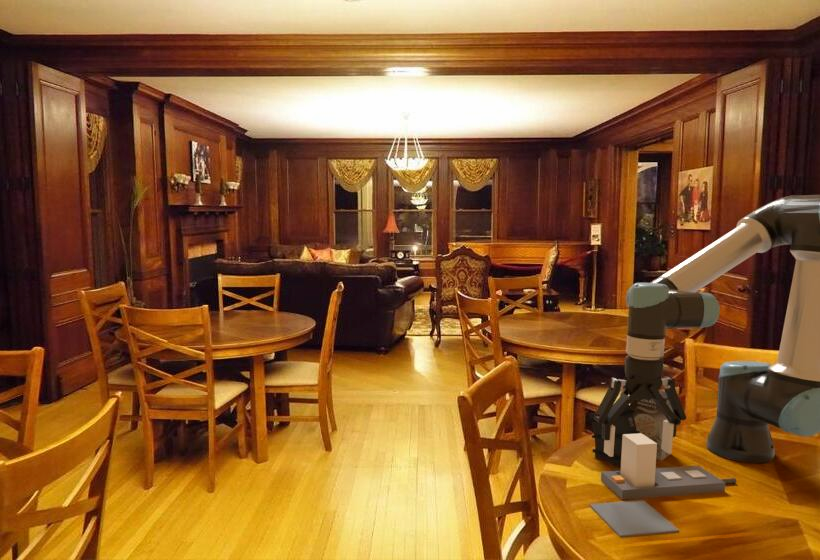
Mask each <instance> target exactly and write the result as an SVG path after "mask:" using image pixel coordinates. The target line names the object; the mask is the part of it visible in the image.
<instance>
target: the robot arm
mask: <svg viewBox="0 0 820 560" xmlns="http://www.w3.org/2000/svg"><path fill="white" fill-rule="evenodd" d="M784 245H785V246H786V245H790V248H789V252H790V253H791V255H792V257H794V259H795V265H794V269H793V275H792V281H791V286H790V291H789V297H788V302H787V308H786V313H785V317H784V322H783V329H782V333H781V340H780V344H779V350H778V356H777V360H776V362H775V363H773V364H771V363H769V362H762V361H748V360H735V361H734V360H733V361H732V360H731V361H726V362H723V363H722V364H721V365H720V368H719V375H718V382H717V384H718V385H717V402H716V413H715V414H716V416H715V419H714V422H713V424H712V427H711V429H710V431H709V433H708V435H707V437H706V448H707V449H708V450H709V451H710V452H712V453H714V454H715V455H717V456H719V457H722V458H725V459H729V460H734V461H738V462H742V463H743V462H744V463H752V464H764V463H768V462H771V461H773V460H774V459H775V451H776V449H775V445H774V442H773V438H772V434H771V430H770V426H769V425H771V426H773V427H776V428H778V429H781V431H783V432H785V433H788V434H793V435H796V436H799V437H803V438H804V437H805V438H806V437H813V436H816V435H818V434H819V433H820V194H807V195H805V194H804V195H802V194H797V195H796V194H795V195H794V194H793V195H789V196H787V195H786V196H784V197H780V198H777V199H775V200H773V201H771V202H768V203H766V204H765V205H762V206H760V207H759V208H757V209H756V210H754V211H752V212H750V213H749V214H747V215H745V216H744V217H742V218H740V220H738V222H737V223H736V227H734V228H733V229H732V230H730V231H729V232H727V233H725V234H724V235H722V236H720V237H719V238H717V240H716V239H715V241H713V242H712V243H710V244H709V245H707V246H705V247H704V248H702V249H700V250H699V251H697V252H696V253H694V254H692V255H691V256H690V257H688V258H686V259H685V260H683V261H682V262H680V263H679V264H677V265H675V266H673V268H671V269H669V270H668V271H666V272H665V273H663V274H662V275H660V276H659V277H656V278H655V279H654V280H652V281H650V282H635V283H634V284H632V285H631V286H630V288H629V289H628V291H627V292H626V295H625V303H626V306H627V307H628V308H627V309H628V314H627V335H626V346H625V352H626V356H625V361H624V373H625V375H624V378H623V379H620V378H618V379H617V378H616V377H611V378H610V380H609V386H608V389H607V391H606V392H605V394H604V396H603V398H602V400H601V402H600V403H599V406H598V407H597V410H596V411H595V412H596V413H595V412H594V413H595V415H594V419H595V420H596V421H597V422H599V423H600V424H602V434H601V436H602V438H603V439H604V452H605V453H606V454H607V455H609V456H610V457H613V453H614V438H615V426H613V425H612V424H613V423H614V422H615V420H616V419H617V418H618V417H619V416H620V414H621V413H622V412H623V411H624V410H625V409H626V407H627V406H628V405H630V403H632V402H633V401H634V400H635V399H636V400H643V399H645V400H651V399H653V400H654V402H655V403H656V404H657V406H658V407H659V408H660V410H661V411H662V413H663V414H664V415H665V417H666V418H667V419H668V421H667V420H663V431H662V445H661V449H662V450H664V451H665V452H667V453H668V454H670V455H671V454H672V453H673V442H674V440H673V439H674V438H675V437H676V436H677V429H678V428H677V427H678V426H679V425H681V423H682V421H685V420H687V415H686V413H685V410H684V407H683V405H682V403H681V400H680V397H679V395H678V393H677V390H676V389H677V388H676V380H675V378H671V377H669V376H668V375H665V376H664V377H663V378H662V376H663V371H664V360H663V358H662V357H664V355H665V343H666V334H667V333H666V332H667V329H681V328H683V329H687V328H688V329H689V328H690V329H692V328H696V329H700V328H709V327H712V326H714V325H715V324H716V323H717V322H718V320H719V317H720V312H721V311H720V310H721V307H720V304H719V301H718V299H717V297H716V296H714V295H713V294H712V293H711V292H710V293H709V292H701V291H700V290H701V289H703V288H704V287H706V286H708V285H709V284H710V283H712V282H713V281H715V280H716V279H718V278H719V277H721V276H723V275H724V274H725V273H727V272H728V271H730V270H732V269H733V268H735V267H736V266H738V265H740V264H741V263H743V262H744V261H746V260H747V259H749V258H751V257H752V256H754V255H755V254H756V253H758V254H759V253H760V254H763V253H766V252H768V251H769V250H771V249H772V248H775V247H779V246H784ZM623 387H624V389H623ZM662 387H663V389H664V390H663V391H665V392H666V395H667V397H668V400H669V402H670V405H671V407H672V410H673V412H674V413H673V412H672V410H671V409H670V407H669V406H668V405H667V403H666V402H665V401H664V399H663V397H662V395H661V394H660V393H659V391H658V390H661V388H662ZM621 390H622V392H621ZM620 392H621V393H620ZM619 395H620V396H619ZM617 398H618V399H617Z"/></svg>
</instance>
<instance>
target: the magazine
mask: <svg viewBox="0 0 820 560" xmlns="http://www.w3.org/2000/svg"><path fill="white" fill-rule="evenodd" d="M595 413H596V411H595V412H590V413H588V416H589V418H587V421H588V423H591V426H592V430H593V435H591V439H594V448H593V449H592V453H594V457H595V458H597V459H599V460H602V461H603V462H606V463H609V464H610V465H613V466H616V467H617V468H620V469H621V454H622V436H623V434H638V433H640V431H637V429H636V424H635V420H634V417H633V413H635V411H634V409H632V410H631V407H630V404H629V405H628V406H627V407H626V409H625V410H624V411H623V412H622V413H621V414H620V416H619V417H618V418H617V419H616V420H615V422H614V423H613V424H612V425H613V426H615V438H614V453H613V457H610V456H609V455H607V454H606V453H605V452H604V439H603V438H602V436H601V434H602V424H600V423H599V422H597V421H596V420H595V419H594V415H595Z"/></svg>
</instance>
